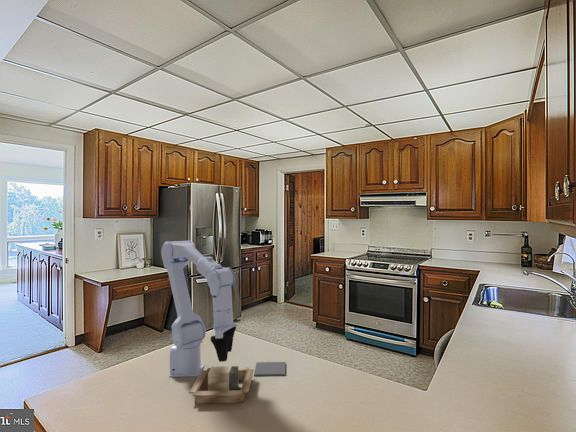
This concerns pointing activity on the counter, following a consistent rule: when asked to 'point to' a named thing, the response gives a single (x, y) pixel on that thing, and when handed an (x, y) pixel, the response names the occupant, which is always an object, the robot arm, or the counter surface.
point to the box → (223, 378)
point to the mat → (270, 369)
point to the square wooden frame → (221, 396)
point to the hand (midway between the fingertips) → (225, 356)
